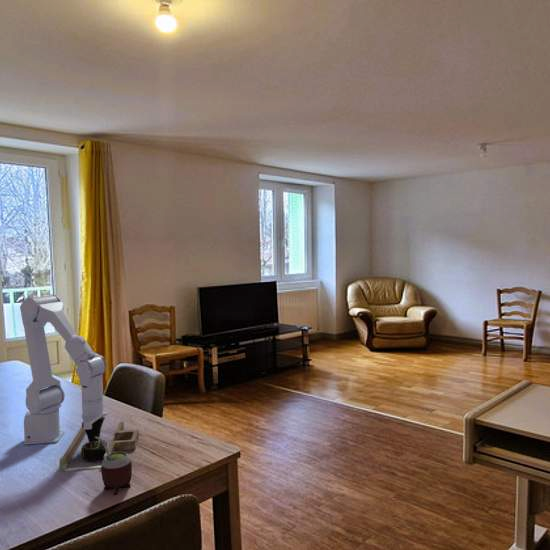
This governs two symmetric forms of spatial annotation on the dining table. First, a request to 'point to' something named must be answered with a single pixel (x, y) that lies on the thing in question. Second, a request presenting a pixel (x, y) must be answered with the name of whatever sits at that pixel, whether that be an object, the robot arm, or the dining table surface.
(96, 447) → the tape measure
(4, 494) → the dining table surface
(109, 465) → the mate gourd
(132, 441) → the channel
